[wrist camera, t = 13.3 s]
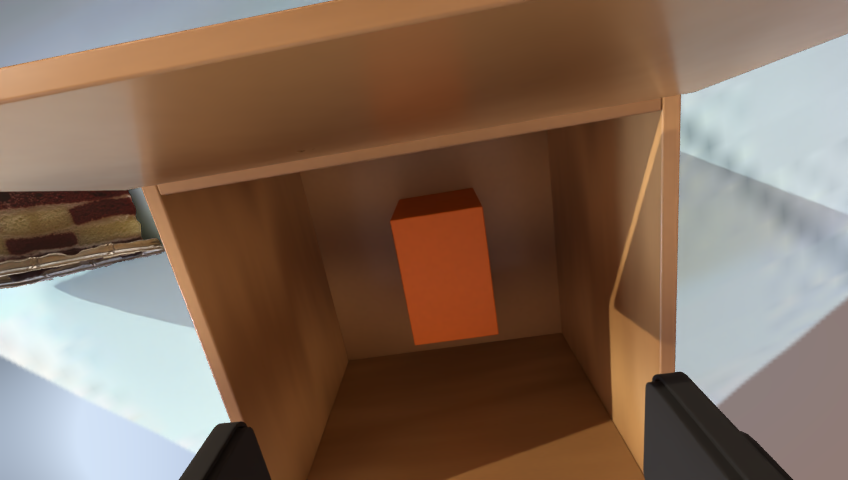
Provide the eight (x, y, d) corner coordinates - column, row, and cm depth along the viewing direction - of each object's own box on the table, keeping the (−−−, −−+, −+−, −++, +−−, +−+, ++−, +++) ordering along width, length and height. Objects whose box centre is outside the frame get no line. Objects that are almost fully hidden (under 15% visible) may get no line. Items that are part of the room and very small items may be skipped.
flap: (125, 190, 11) (122, 179, 11) (695, 92, 10) (694, 79, 10) (-480, 196, 4) (-494, 166, 4) (1369, -165, 3) (1373, -213, 3)
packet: (398, 199, 24) (389, 220, 19) (473, 187, 24) (482, 205, 19) (418, 303, 26) (414, 346, 21) (487, 294, 26) (499, 335, 21)
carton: (288, 148, 24) (138, 182, 12) (551, 102, 22) (682, 87, 11) (344, 362, 28) (277, 546, 16) (567, 333, 27) (672, 508, 15)
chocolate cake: (149, 135, 24) (-202, 132, 16) (175, 249, 24) (-165, 301, 16) (136, 176, 31) (-112, 188, 23) (155, 264, 31) (-86, 305, 23)
